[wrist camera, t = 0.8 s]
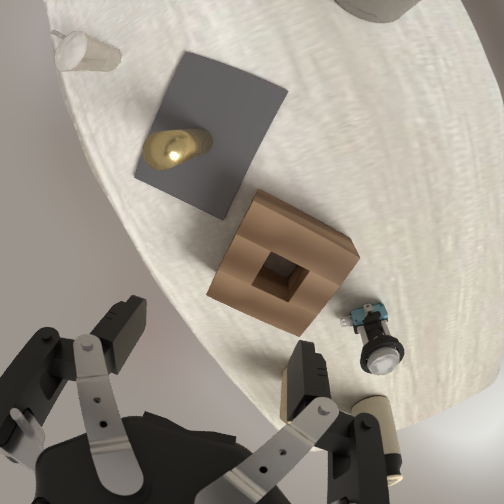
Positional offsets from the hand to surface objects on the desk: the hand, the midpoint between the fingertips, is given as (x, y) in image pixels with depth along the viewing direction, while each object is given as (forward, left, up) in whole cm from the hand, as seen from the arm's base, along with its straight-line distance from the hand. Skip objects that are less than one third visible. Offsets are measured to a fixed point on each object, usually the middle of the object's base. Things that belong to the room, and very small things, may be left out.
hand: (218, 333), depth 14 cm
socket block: (+3, +5, -20) cm, 20 cm away
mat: (-6, -9, -20) cm, 22 cm away
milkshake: (-11, -25, -20) cm, 34 cm away
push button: (+5, +19, -20) cm, 28 cm away
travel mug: (+23, +37, -20) cm, 48 cm away
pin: (-5, -9, -19) cm, 22 cm away
